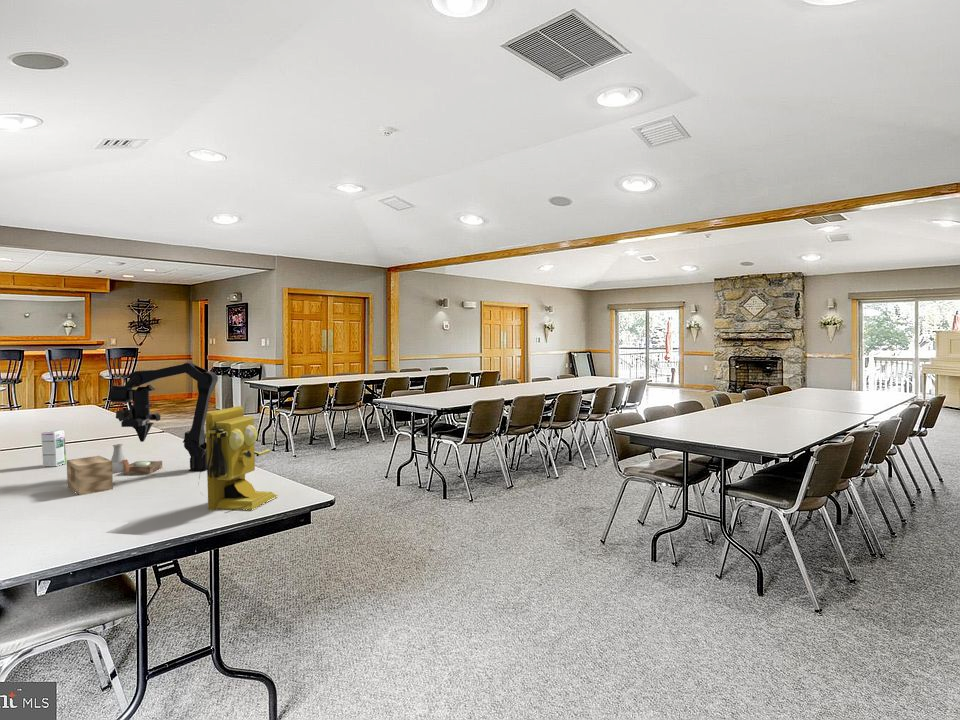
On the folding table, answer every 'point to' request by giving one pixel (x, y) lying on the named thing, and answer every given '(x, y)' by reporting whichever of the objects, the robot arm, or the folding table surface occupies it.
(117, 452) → the flask
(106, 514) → the folding table surface
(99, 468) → the wooden box
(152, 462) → the button housing
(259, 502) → the vintage telephone
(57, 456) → the syrup box
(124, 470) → the plunger
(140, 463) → the table button
